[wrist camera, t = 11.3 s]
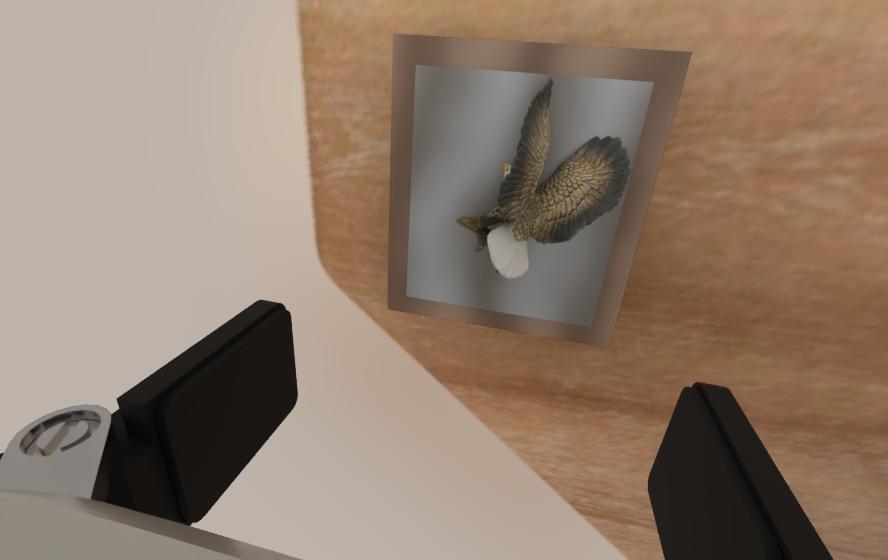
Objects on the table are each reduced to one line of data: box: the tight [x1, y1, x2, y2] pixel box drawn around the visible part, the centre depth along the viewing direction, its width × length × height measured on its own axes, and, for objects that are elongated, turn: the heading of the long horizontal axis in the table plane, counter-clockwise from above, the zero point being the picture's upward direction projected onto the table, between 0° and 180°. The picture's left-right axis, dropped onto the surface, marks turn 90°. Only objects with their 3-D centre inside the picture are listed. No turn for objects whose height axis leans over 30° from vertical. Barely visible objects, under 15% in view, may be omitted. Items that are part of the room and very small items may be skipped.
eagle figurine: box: [455, 77, 631, 279], centre depth 23 cm, size 8×7×9 cm
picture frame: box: [388, 34, 692, 348], centre depth 28 cm, size 16×18×3 cm
